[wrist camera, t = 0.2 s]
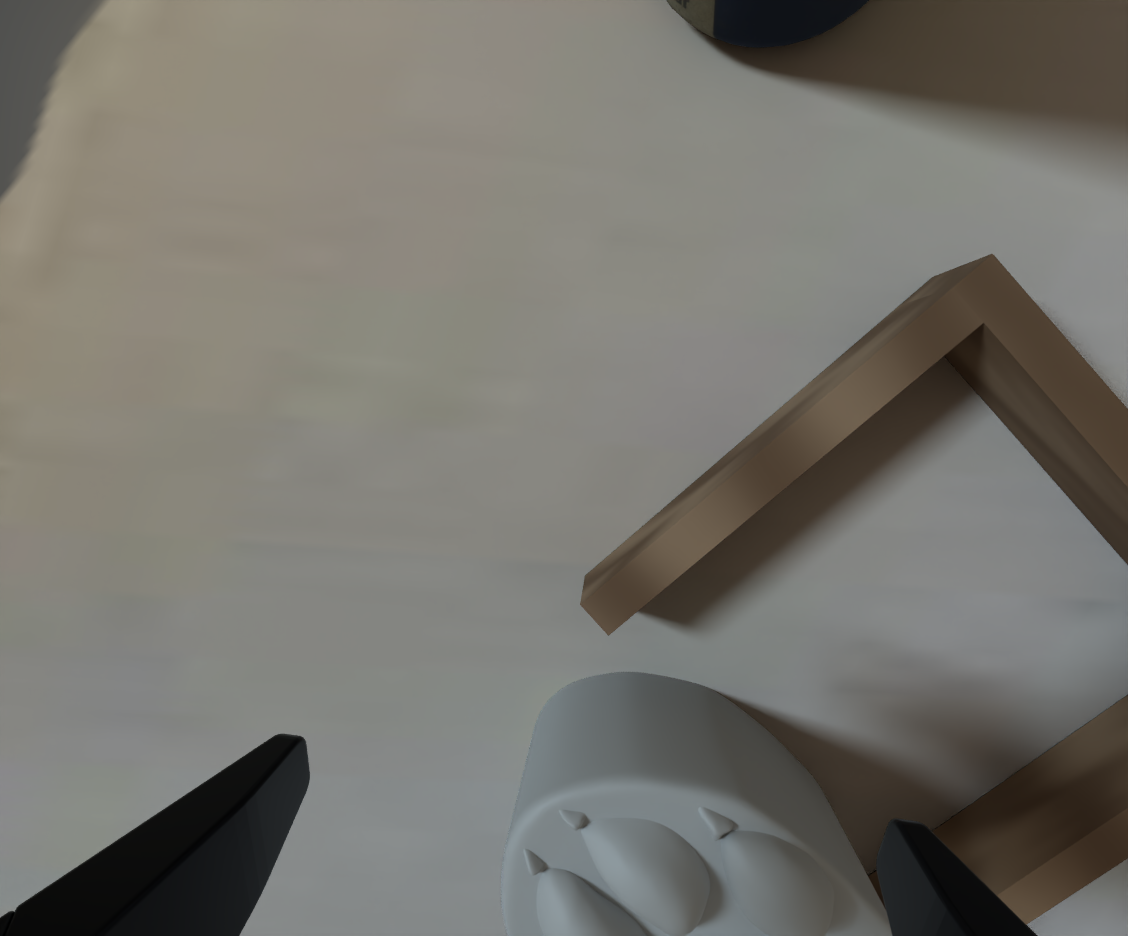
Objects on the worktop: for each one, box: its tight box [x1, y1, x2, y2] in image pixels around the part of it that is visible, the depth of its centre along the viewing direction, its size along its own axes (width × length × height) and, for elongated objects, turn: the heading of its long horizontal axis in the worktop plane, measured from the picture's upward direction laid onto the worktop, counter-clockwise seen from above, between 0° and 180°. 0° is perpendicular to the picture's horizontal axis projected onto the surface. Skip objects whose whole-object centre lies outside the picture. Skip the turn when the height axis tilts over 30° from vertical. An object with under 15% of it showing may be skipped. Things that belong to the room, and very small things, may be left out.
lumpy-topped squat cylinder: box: [501, 672, 892, 936], centre depth 21 cm, size 10×13×9 cm
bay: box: [580, 254, 1128, 924], centre depth 22 cm, size 18×19×4 cm
